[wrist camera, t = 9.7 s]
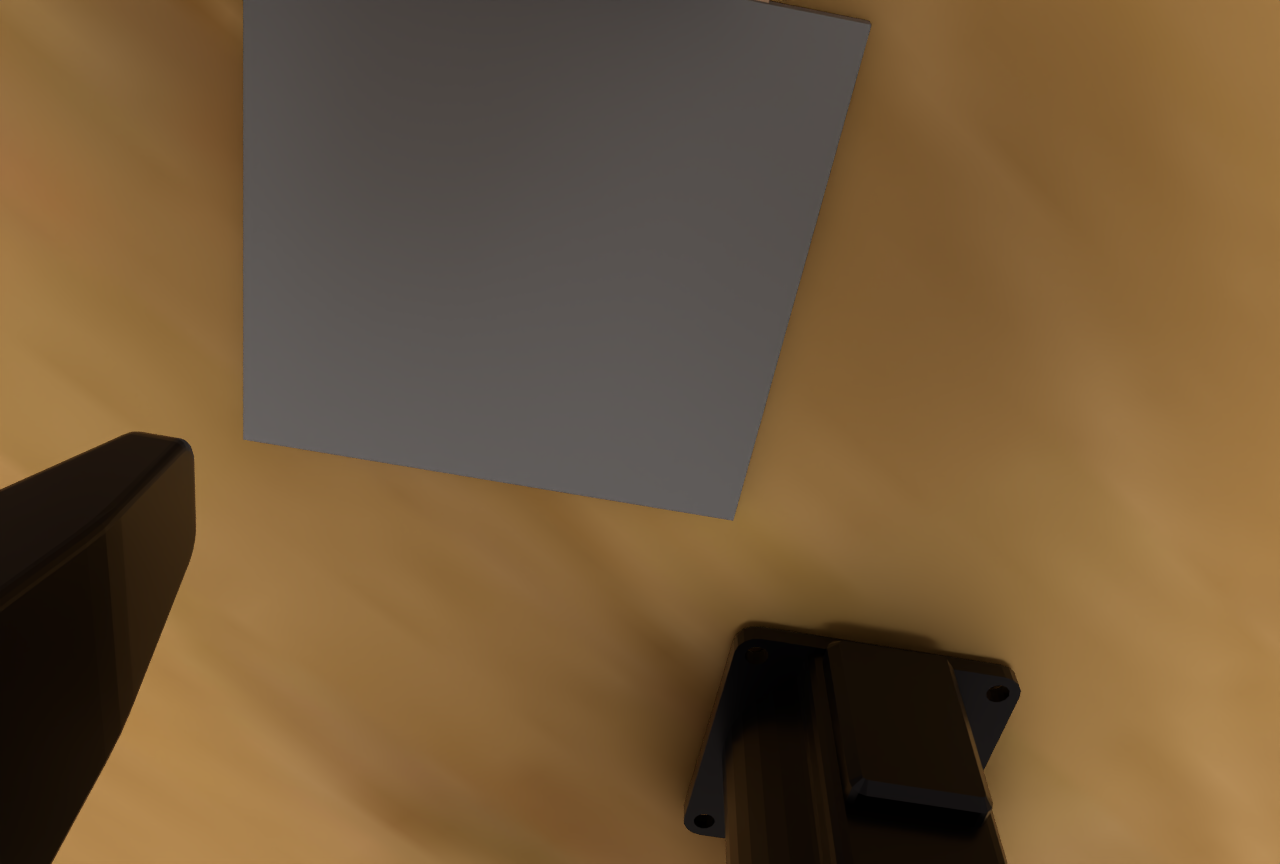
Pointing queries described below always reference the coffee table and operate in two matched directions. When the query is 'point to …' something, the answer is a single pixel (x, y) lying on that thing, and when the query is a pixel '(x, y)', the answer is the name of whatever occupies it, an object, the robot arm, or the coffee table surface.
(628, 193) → the mat
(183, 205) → the coffee table surface
